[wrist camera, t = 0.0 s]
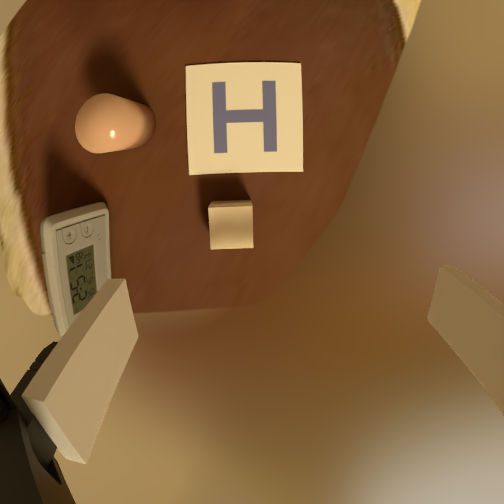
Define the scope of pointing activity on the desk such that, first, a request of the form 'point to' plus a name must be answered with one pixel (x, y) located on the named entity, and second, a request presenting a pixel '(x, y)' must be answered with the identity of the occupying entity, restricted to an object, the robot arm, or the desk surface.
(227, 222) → the ash block
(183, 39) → the desk surface
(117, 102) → the terracotta canister
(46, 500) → the robot arm
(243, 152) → the letter card
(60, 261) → the digital clock
